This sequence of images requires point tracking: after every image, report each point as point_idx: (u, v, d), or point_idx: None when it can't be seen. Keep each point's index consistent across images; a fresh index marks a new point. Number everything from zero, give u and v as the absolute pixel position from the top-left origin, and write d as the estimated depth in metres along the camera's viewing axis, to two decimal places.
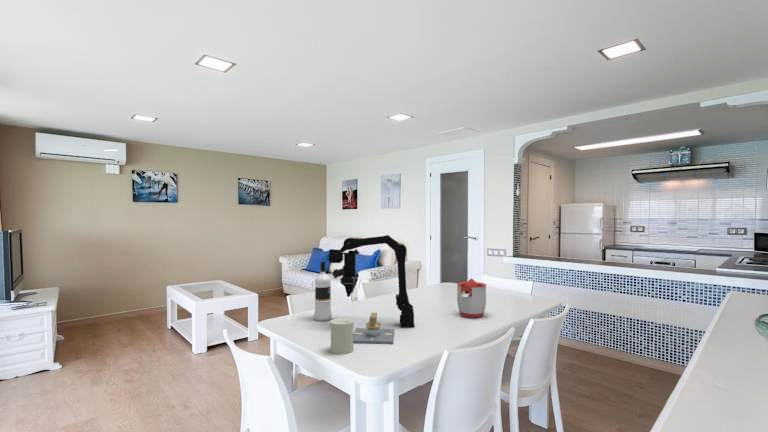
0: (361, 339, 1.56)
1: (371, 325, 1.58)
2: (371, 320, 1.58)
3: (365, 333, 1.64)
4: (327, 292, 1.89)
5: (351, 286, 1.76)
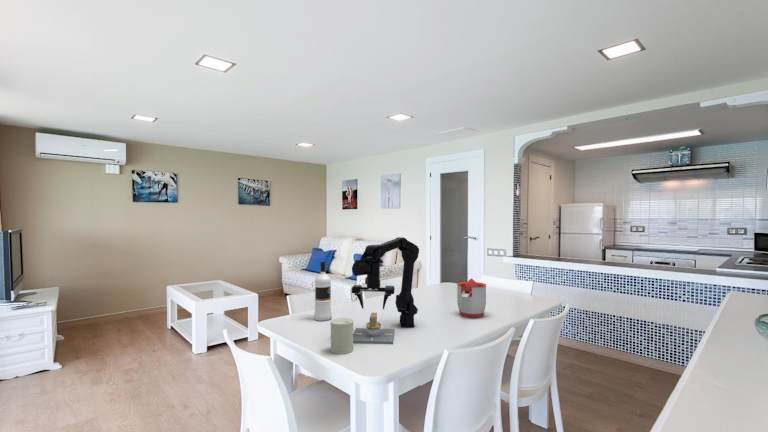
0: (361, 339, 1.56)
1: (371, 325, 1.58)
2: (371, 320, 1.58)
3: (365, 333, 1.64)
4: (327, 292, 1.89)
5: None
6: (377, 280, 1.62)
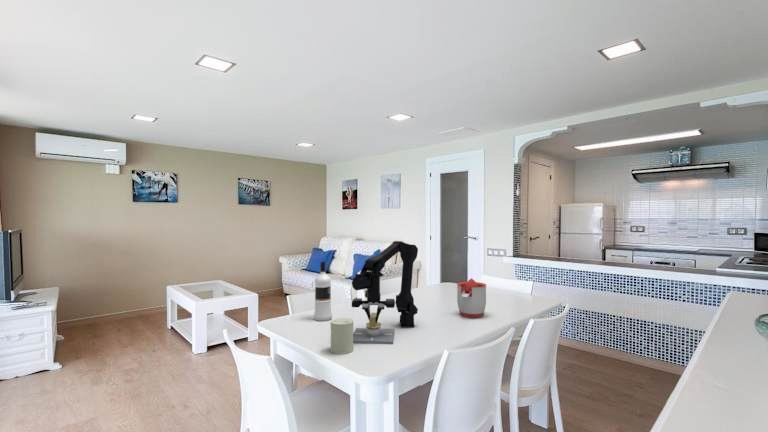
0: (361, 339, 1.56)
1: (371, 325, 1.58)
2: (371, 320, 1.58)
3: (365, 333, 1.64)
4: (327, 292, 1.89)
5: None
6: (377, 294, 1.61)
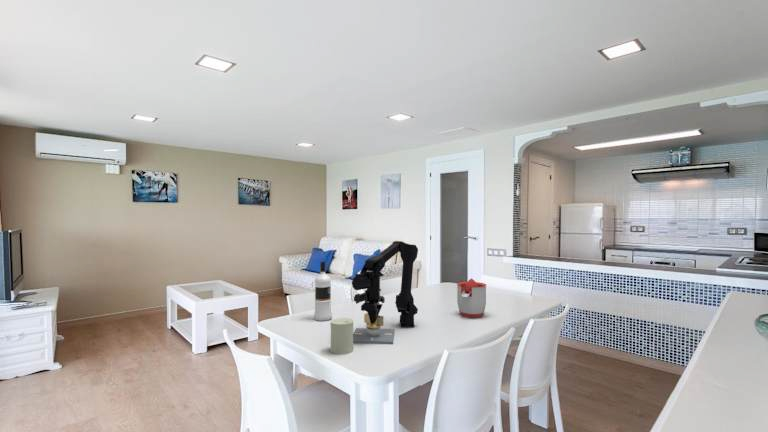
0: (361, 339, 1.56)
1: (380, 324, 1.60)
2: (380, 319, 1.60)
3: (365, 333, 1.64)
4: (327, 292, 1.89)
5: (375, 312, 1.59)
6: None
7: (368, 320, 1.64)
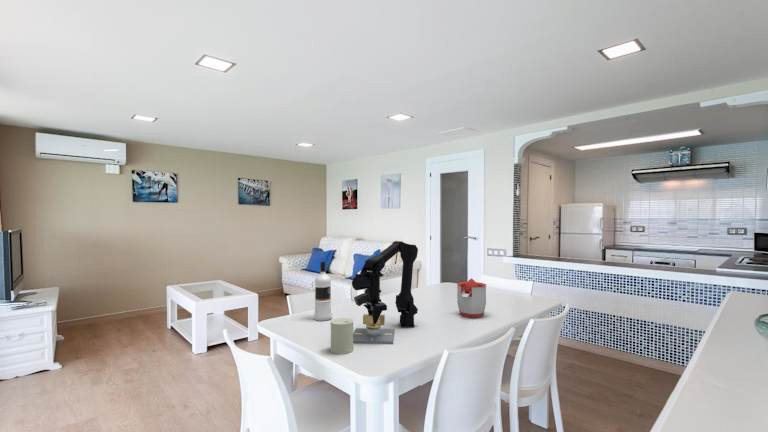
0: (361, 339, 1.56)
1: (384, 323, 1.62)
2: (384, 318, 1.62)
3: (365, 333, 1.64)
4: (327, 292, 1.89)
5: (379, 312, 1.60)
6: None
7: (368, 321, 1.62)
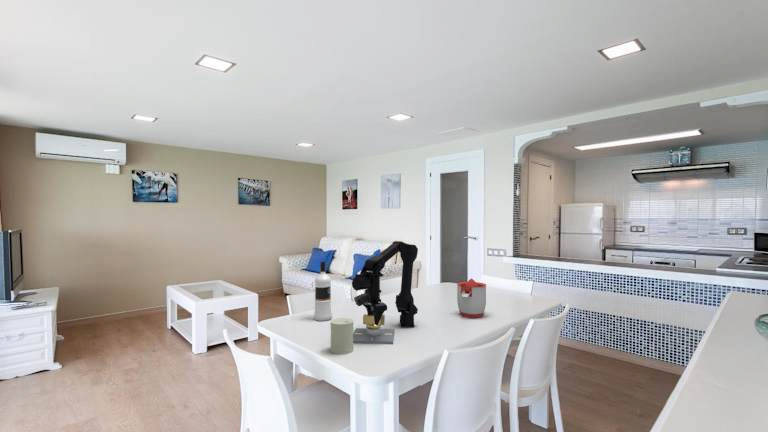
0: (361, 339, 1.56)
1: (384, 322, 1.62)
2: (384, 318, 1.62)
3: (365, 333, 1.64)
4: (327, 292, 1.89)
5: (381, 313, 1.59)
6: None
7: (368, 321, 1.62)
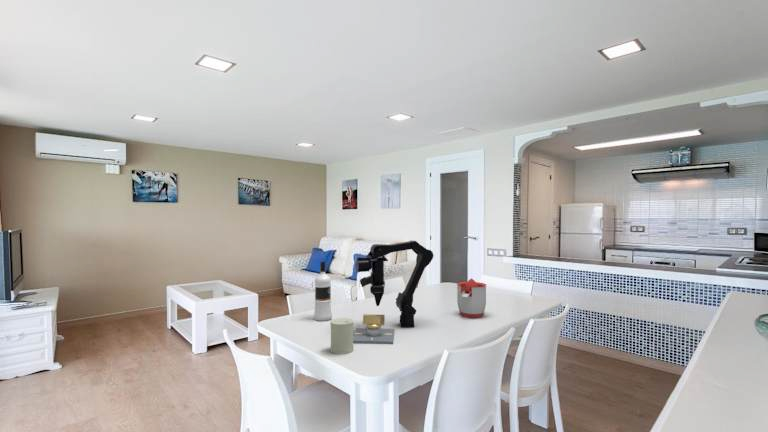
0: (361, 339, 1.56)
1: (384, 322, 1.62)
2: (384, 318, 1.62)
3: (365, 333, 1.64)
4: (327, 292, 1.89)
5: (381, 295, 1.69)
6: None
7: (368, 321, 1.62)
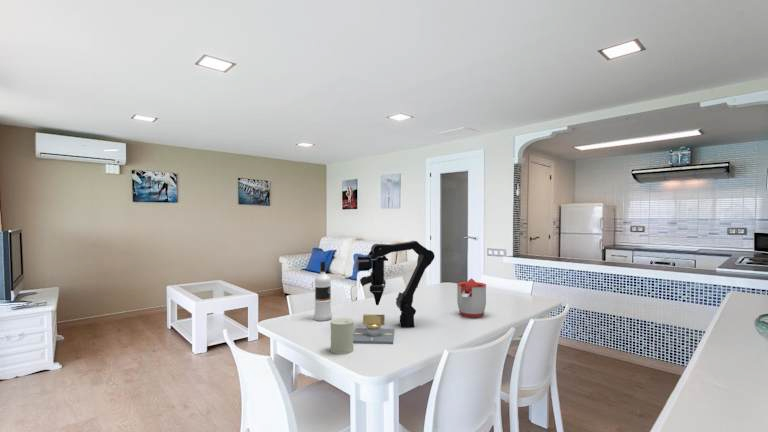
0: (361, 339, 1.56)
1: (384, 322, 1.62)
2: (384, 318, 1.62)
3: (365, 333, 1.64)
4: (327, 292, 1.89)
5: (380, 294, 1.70)
6: None
7: (368, 321, 1.62)
